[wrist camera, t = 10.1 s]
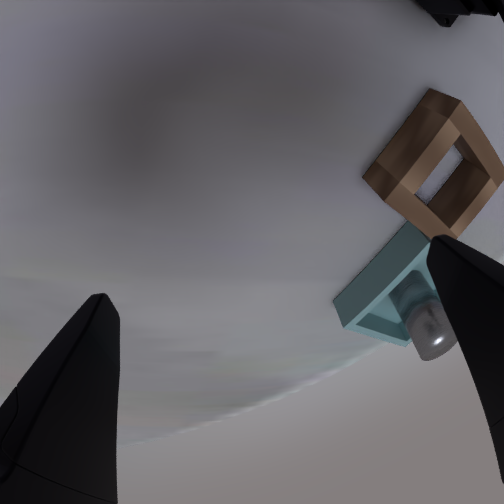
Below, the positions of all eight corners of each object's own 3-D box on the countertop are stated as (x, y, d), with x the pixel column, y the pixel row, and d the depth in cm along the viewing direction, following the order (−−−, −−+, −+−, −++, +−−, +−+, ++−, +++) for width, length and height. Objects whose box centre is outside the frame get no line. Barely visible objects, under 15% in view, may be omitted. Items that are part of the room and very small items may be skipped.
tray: (409, 218, 23) (429, 242, 21) (458, 261, 28) (474, 282, 25) (332, 301, 28) (343, 328, 26) (394, 324, 33) (405, 346, 30)
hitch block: (430, 88, 17) (461, 100, 14) (481, 155, 20) (507, 174, 17) (362, 177, 21) (383, 201, 18) (424, 227, 24) (445, 251, 21)
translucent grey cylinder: (408, 264, 26) (448, 326, 20) (429, 277, 27) (466, 334, 21) (380, 294, 27) (412, 357, 22) (403, 304, 29) (433, 362, 23)
